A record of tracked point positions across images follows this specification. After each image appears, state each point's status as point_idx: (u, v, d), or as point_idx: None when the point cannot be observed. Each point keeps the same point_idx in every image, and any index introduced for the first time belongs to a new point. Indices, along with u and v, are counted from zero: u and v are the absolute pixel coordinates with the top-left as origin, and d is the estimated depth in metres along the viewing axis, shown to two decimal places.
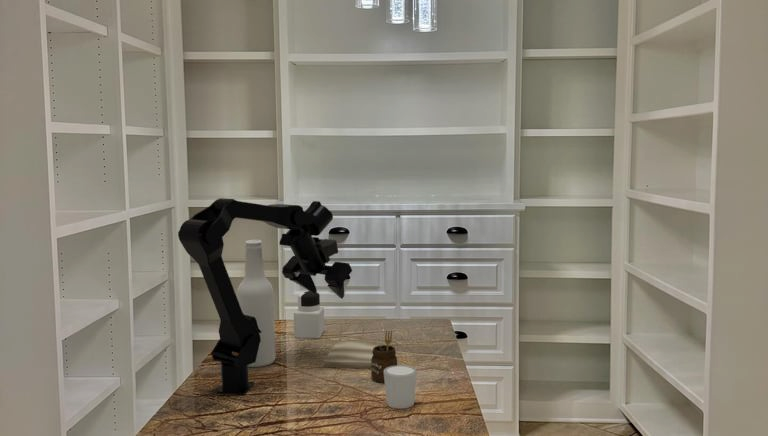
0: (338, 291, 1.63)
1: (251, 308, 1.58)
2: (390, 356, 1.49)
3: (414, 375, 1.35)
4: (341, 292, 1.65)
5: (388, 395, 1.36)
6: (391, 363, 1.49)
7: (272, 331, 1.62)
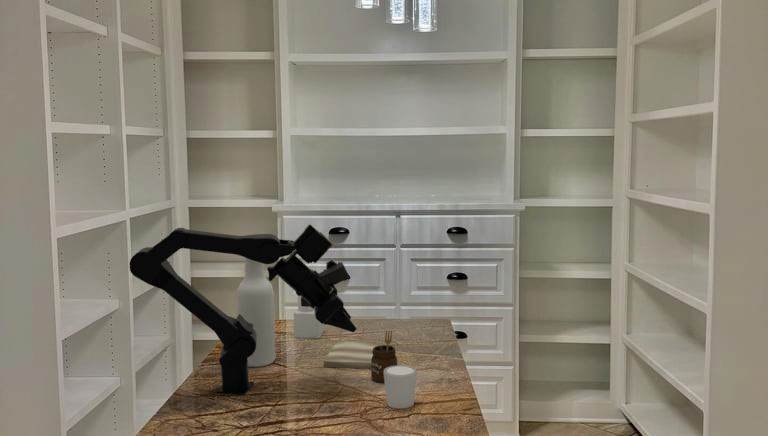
0: (339, 326, 1.43)
1: (251, 308, 1.58)
2: (390, 356, 1.49)
3: (414, 375, 1.35)
4: (347, 326, 1.43)
5: (388, 395, 1.36)
6: (391, 363, 1.49)
7: (272, 331, 1.62)
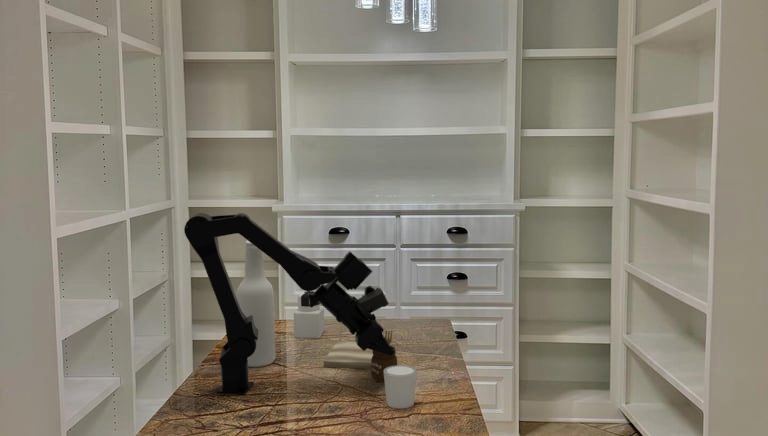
0: (378, 349, 1.47)
1: (251, 308, 1.58)
2: (390, 356, 1.49)
3: (414, 375, 1.35)
4: (385, 349, 1.47)
5: (388, 395, 1.36)
6: (391, 363, 1.49)
7: (272, 331, 1.62)
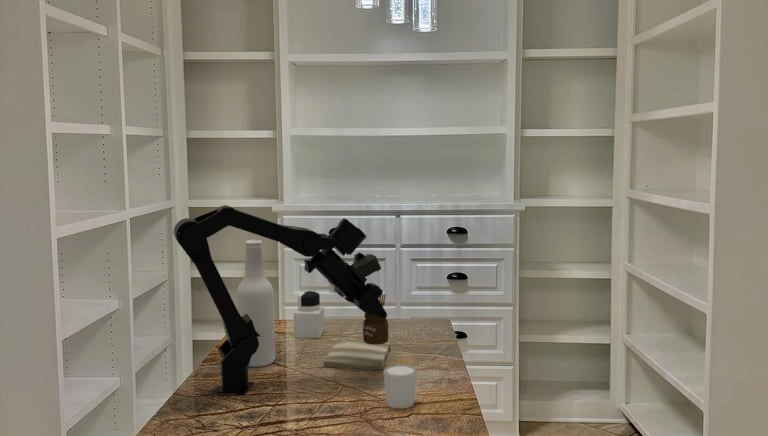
0: (373, 312, 1.52)
1: (251, 308, 1.58)
2: (383, 319, 1.55)
3: (414, 375, 1.35)
4: (380, 312, 1.53)
5: (388, 395, 1.36)
6: (384, 326, 1.55)
7: (272, 331, 1.62)
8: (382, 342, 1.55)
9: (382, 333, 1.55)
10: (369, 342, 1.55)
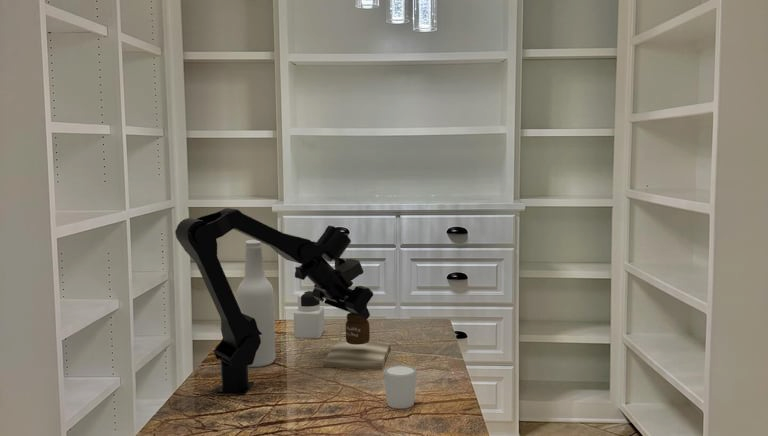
0: (360, 313, 1.61)
1: (251, 308, 1.58)
2: (366, 319, 1.64)
3: (414, 375, 1.35)
4: (364, 313, 1.62)
5: (388, 395, 1.36)
6: (367, 326, 1.64)
7: (272, 331, 1.62)
8: (366, 341, 1.64)
9: (366, 333, 1.64)
10: (354, 342, 1.63)
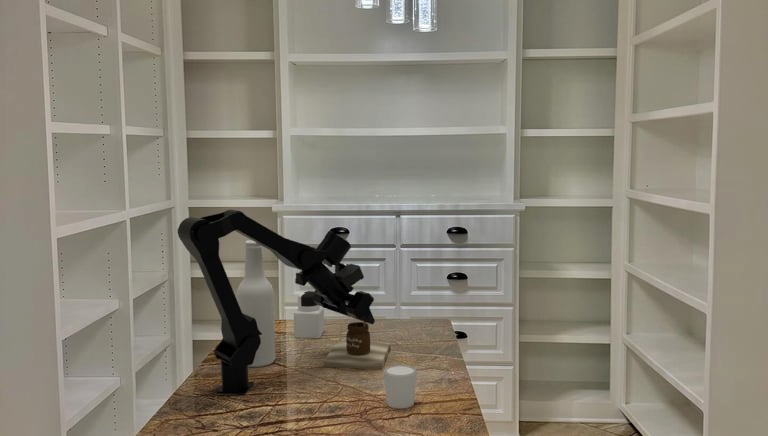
0: (365, 320, 1.60)
1: (251, 308, 1.58)
2: (367, 330, 1.64)
3: (414, 375, 1.35)
4: (369, 319, 1.61)
5: (388, 395, 1.36)
6: (368, 336, 1.64)
7: (272, 331, 1.62)
8: (367, 352, 1.64)
9: (367, 344, 1.64)
10: (355, 353, 1.63)
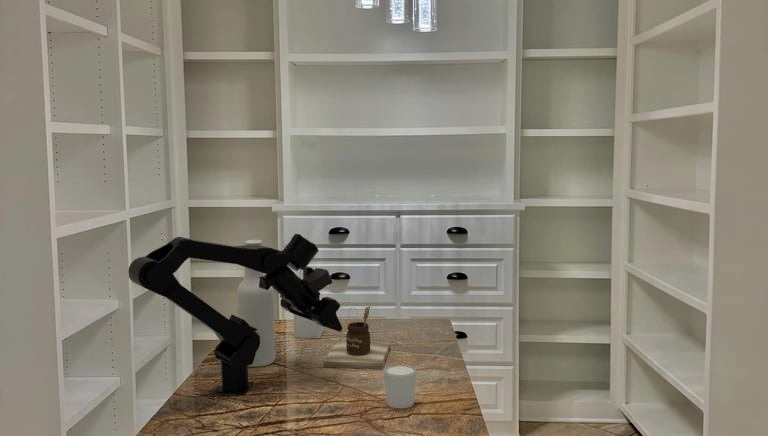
0: (331, 327, 1.54)
1: (251, 308, 1.58)
2: (367, 330, 1.64)
3: (414, 375, 1.35)
4: (336, 326, 1.55)
5: (388, 395, 1.36)
6: (368, 336, 1.64)
7: (272, 331, 1.62)
8: (367, 352, 1.64)
9: (367, 344, 1.64)
10: (355, 353, 1.63)
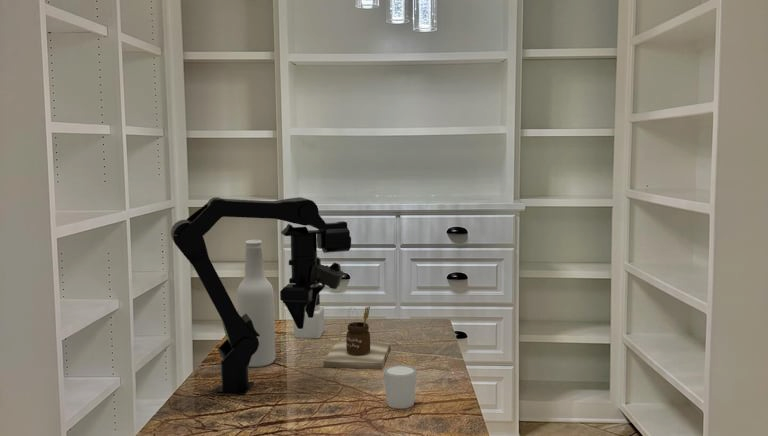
0: (292, 314, 1.45)
1: (251, 308, 1.58)
2: (367, 330, 1.64)
3: (414, 375, 1.35)
4: (297, 320, 1.45)
5: (388, 395, 1.36)
6: (368, 336, 1.64)
7: (272, 331, 1.62)
8: (367, 352, 1.64)
9: (367, 344, 1.64)
10: (355, 353, 1.63)
